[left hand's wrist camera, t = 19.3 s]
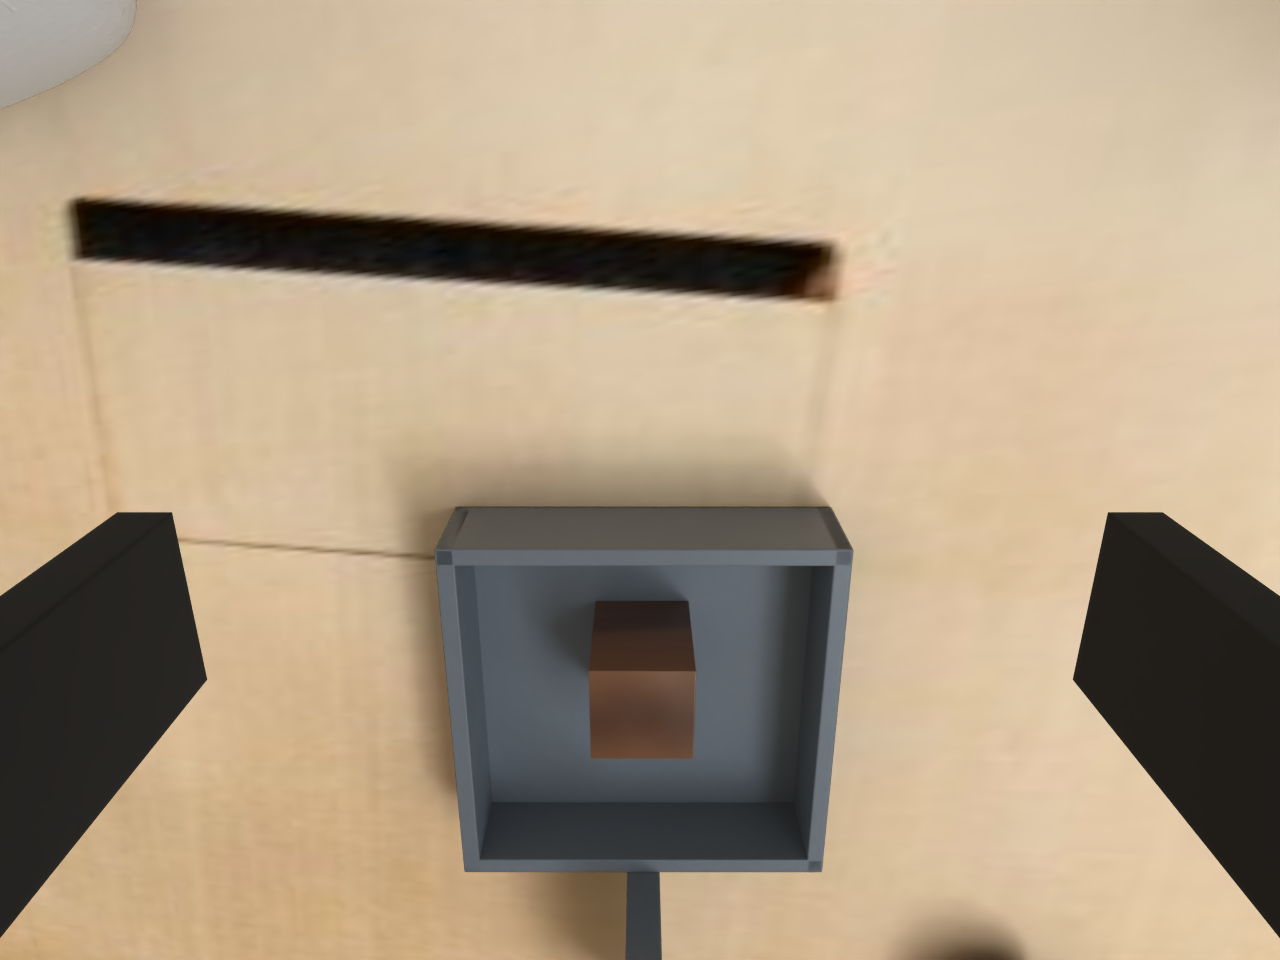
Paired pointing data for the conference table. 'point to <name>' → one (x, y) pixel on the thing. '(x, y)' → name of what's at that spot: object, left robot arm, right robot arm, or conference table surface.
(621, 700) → the block
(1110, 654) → the left robot arm
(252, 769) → the conference table surface
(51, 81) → the projector
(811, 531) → the tray
